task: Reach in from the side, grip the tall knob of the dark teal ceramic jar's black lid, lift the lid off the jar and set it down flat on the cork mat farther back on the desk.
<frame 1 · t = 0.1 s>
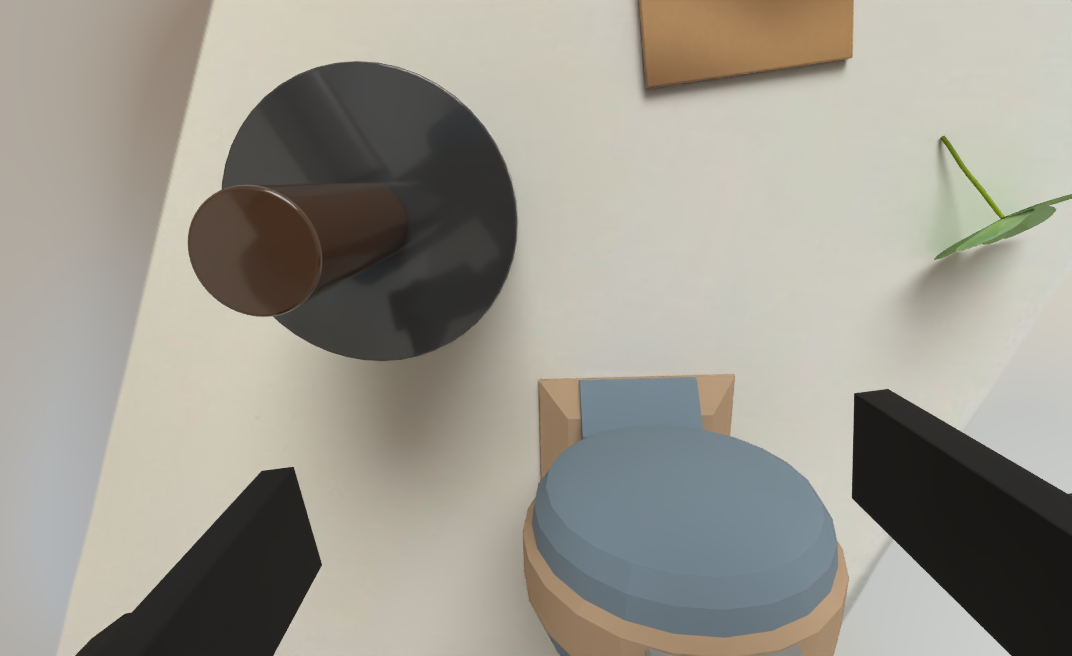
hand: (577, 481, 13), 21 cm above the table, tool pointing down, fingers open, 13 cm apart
seedling: (972, 199, 31), on the table
lid: (375, 220, 19), point 12 cm above the table, touching jar
alarm clock: (633, 445, 35), on the table
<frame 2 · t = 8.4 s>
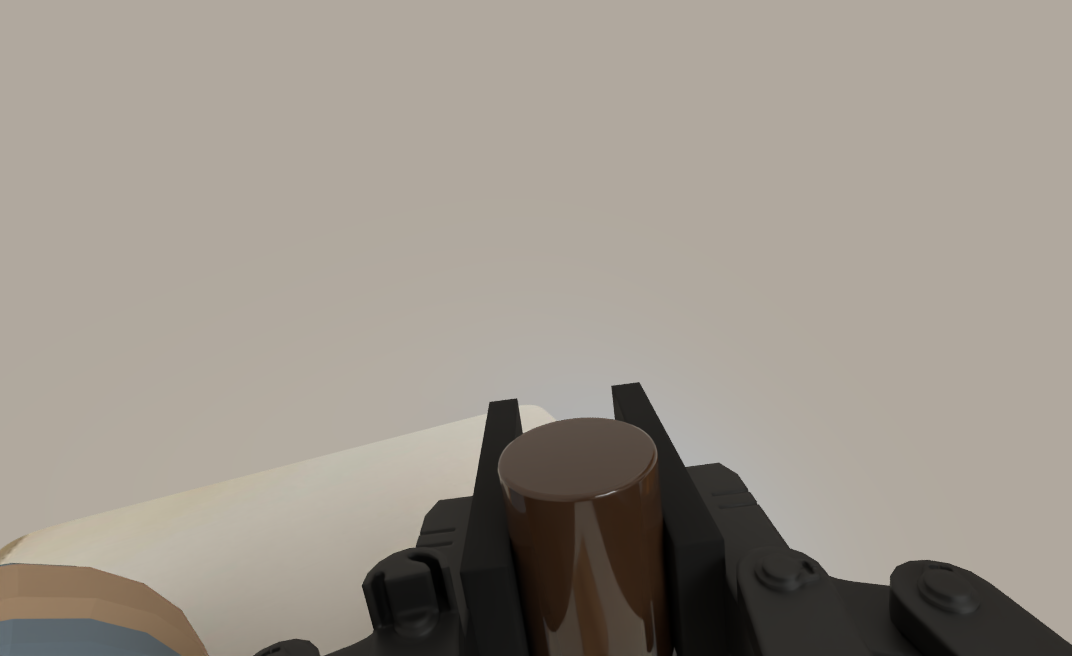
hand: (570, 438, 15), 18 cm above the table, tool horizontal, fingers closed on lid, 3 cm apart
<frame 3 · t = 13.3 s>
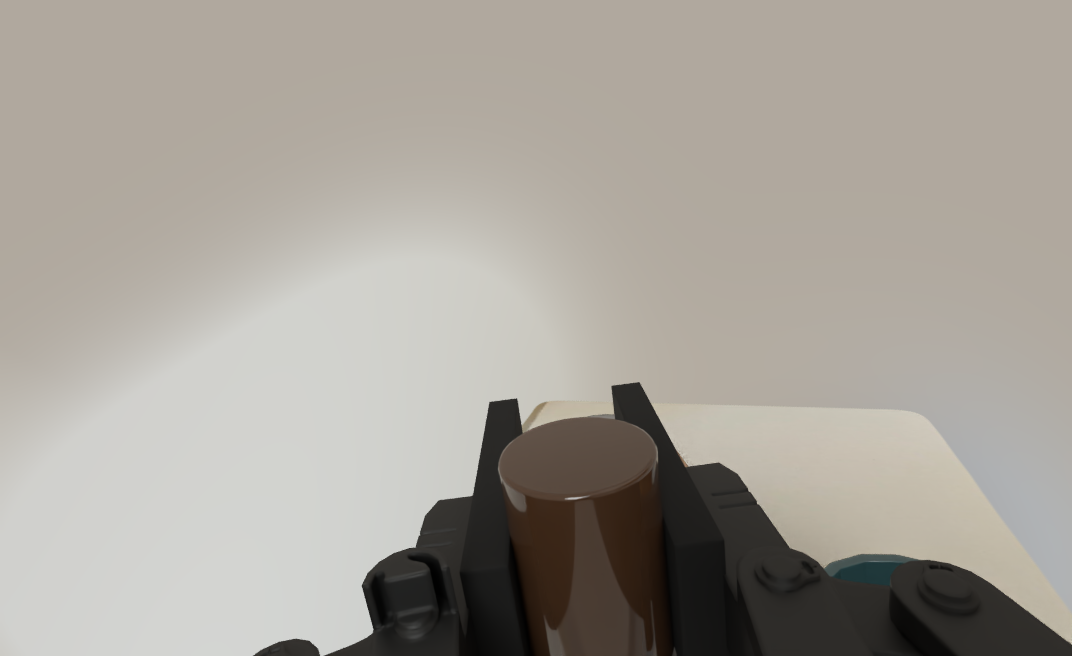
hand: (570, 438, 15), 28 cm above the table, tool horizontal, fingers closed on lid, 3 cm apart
when the fingers open (7 cm above the table, at t = 18.3 s): lid stays where it is, resting on mat.
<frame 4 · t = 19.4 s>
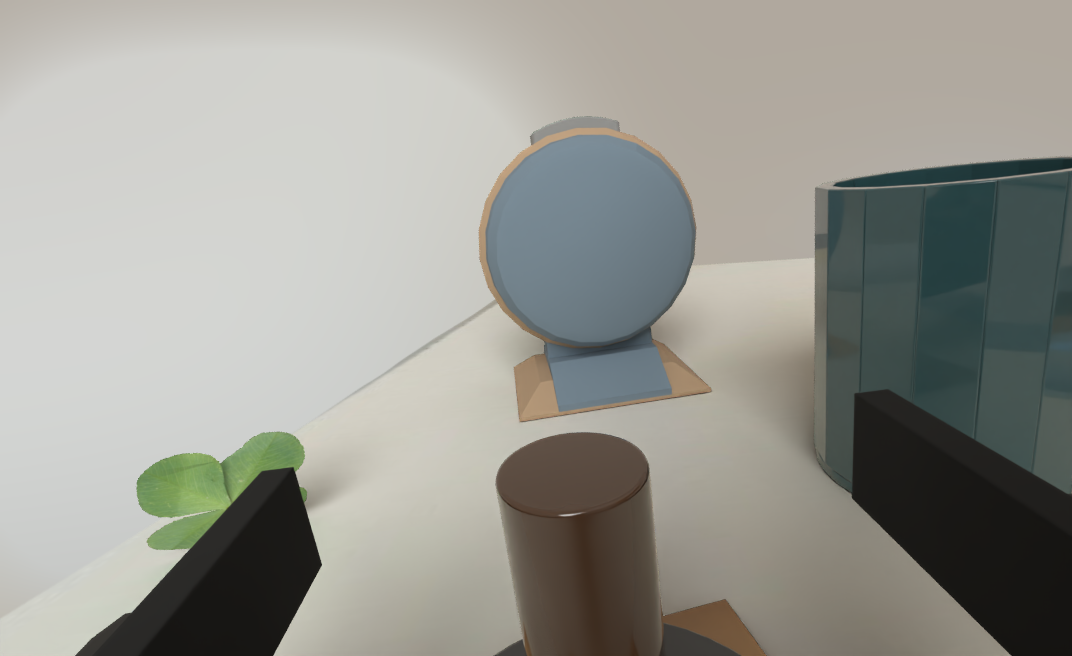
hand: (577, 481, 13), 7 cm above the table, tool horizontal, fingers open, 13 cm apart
jar: (932, 463, 24), on the table
seedling: (227, 578, 23), on the table
alarm clock: (601, 382, 39), on the table
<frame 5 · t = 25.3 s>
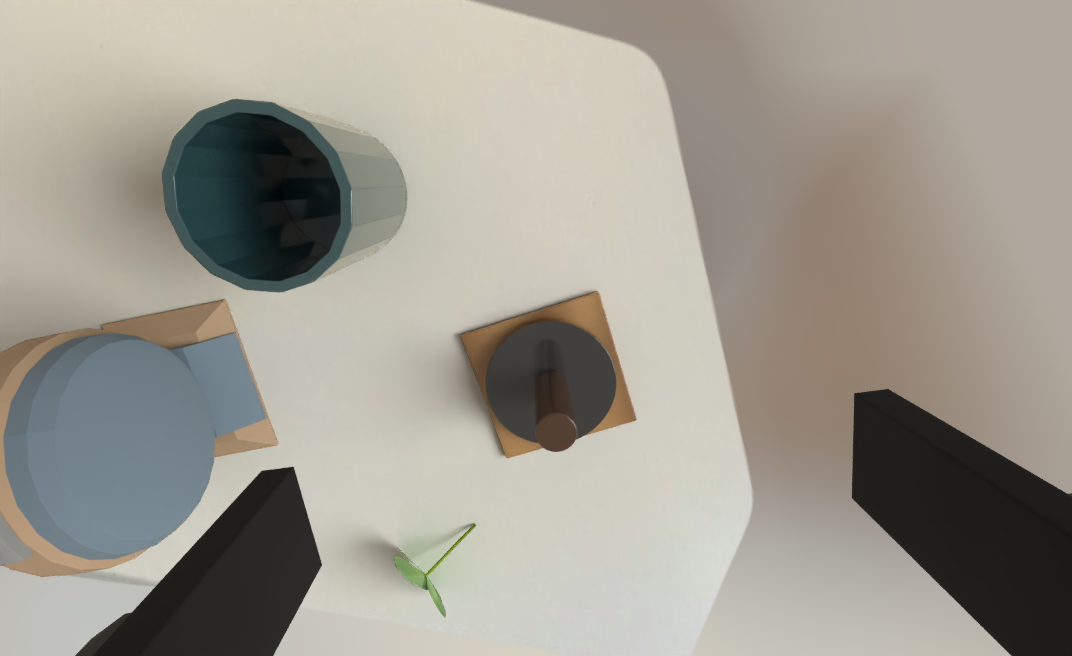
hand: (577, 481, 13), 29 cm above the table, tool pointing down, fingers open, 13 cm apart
jar: (342, 193, 39), on the table
seedling: (443, 554, 47), on the table
lid: (550, 382, 41), point 1 cm above the table, touching mat
mat: (550, 376, 42), on the table
alarm clock: (195, 385, 42), on the table
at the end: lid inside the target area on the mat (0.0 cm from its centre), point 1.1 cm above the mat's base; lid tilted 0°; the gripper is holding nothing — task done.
